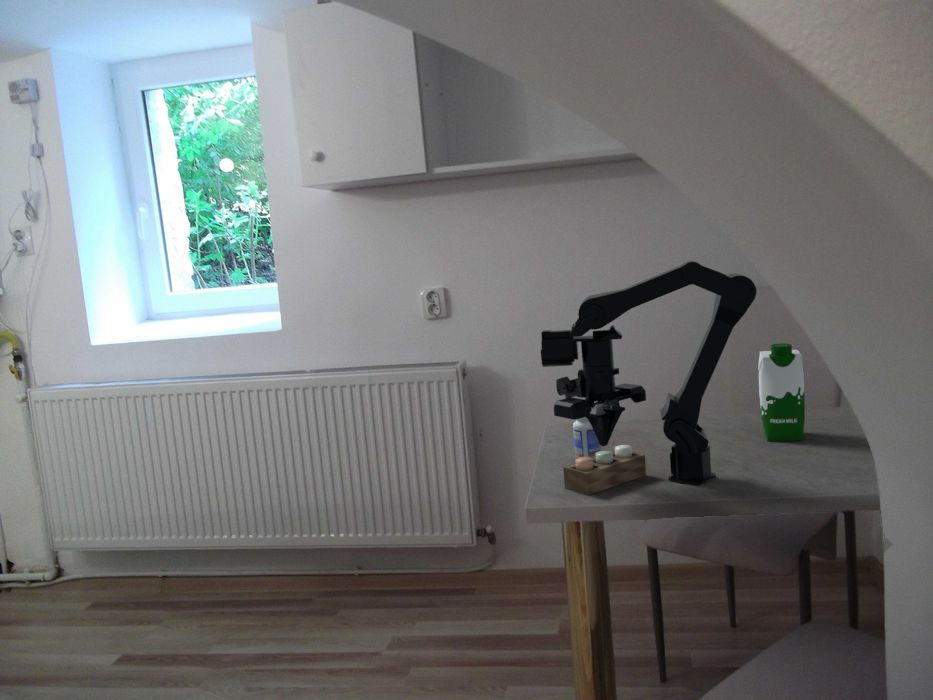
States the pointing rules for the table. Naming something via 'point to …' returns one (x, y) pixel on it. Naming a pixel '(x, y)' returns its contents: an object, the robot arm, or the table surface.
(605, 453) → the sage egg
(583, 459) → the peach oval piece
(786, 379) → the milk carton
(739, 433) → the table surface
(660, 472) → the table surface
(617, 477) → the wooden egg tray
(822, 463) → the table surface
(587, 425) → the pill bottle
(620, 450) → the white rounded piece
